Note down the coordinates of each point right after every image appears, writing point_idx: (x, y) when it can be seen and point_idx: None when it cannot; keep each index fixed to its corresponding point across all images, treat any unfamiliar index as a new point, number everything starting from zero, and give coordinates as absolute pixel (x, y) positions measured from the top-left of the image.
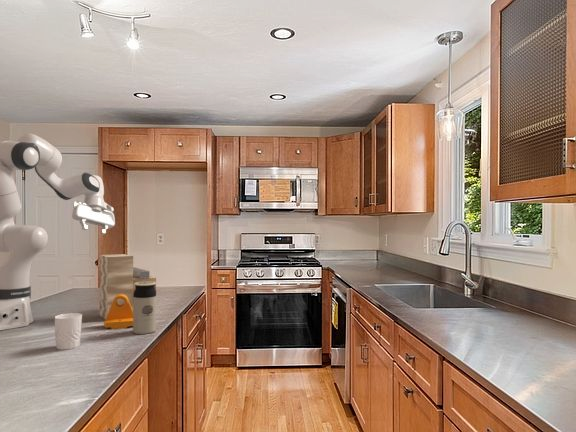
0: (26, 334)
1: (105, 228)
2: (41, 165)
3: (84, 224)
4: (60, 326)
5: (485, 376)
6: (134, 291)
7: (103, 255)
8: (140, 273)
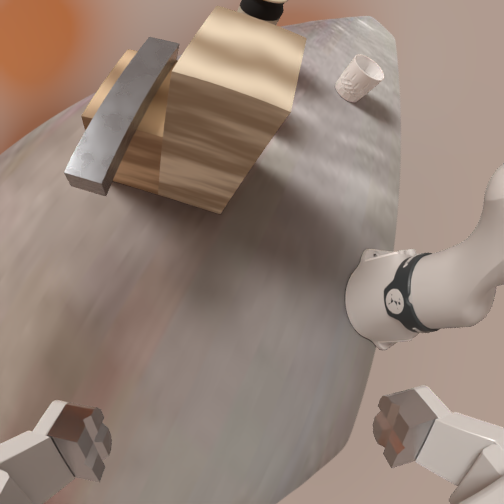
0: (375, 192)
1: (22, 451)
2: None
3: (454, 415)
4: (373, 72)
5: None
6: (282, 10)
7: (288, 90)
8: (177, 47)
